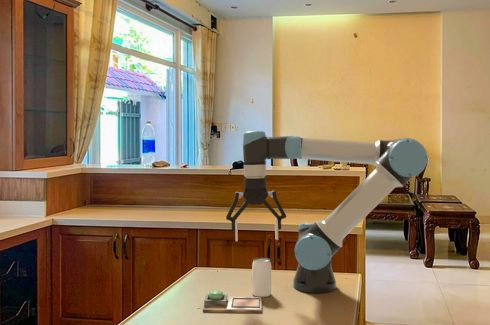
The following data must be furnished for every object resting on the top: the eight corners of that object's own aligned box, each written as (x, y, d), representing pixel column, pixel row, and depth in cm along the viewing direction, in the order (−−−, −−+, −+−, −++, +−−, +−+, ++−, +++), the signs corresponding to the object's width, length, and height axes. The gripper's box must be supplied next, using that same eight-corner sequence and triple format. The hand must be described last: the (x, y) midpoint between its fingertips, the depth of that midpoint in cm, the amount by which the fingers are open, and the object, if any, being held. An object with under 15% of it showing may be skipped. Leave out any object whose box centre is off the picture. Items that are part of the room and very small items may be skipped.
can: (265, 298, 169) (265, 262, 169) (248, 295, 173) (248, 260, 172) (274, 293, 175) (274, 259, 174) (258, 290, 178) (258, 256, 178)
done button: (223, 296, 164) (223, 290, 164) (222, 301, 160) (222, 294, 160) (209, 296, 164) (209, 290, 164) (208, 300, 160) (208, 294, 160)
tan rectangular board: (261, 299, 168) (261, 291, 168) (261, 313, 155) (261, 304, 155) (207, 298, 169) (207, 291, 169) (202, 312, 156) (202, 303, 156)
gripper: (290, 175, 176) (292, 236, 177) (218, 177, 175) (219, 239, 176) (293, 176, 168) (294, 240, 169) (217, 179, 167) (219, 243, 168)
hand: (256, 240), depth 172 cm, fingers open, 13 cm apart
